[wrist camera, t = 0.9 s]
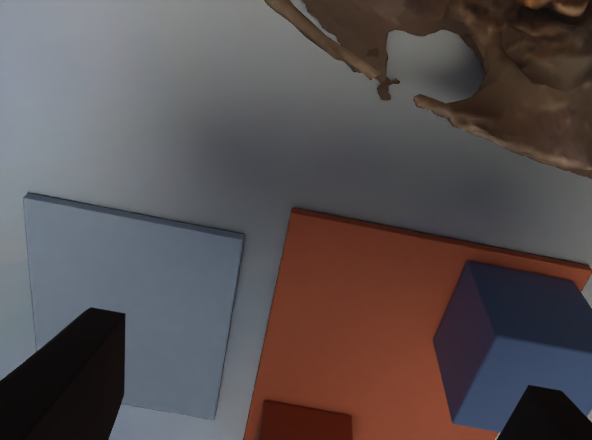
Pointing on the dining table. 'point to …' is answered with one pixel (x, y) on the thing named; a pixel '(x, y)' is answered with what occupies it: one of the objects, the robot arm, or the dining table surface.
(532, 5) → the food dish
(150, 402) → the blue mat
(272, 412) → the rust block
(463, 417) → the blue block
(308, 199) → the dining table surface
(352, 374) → the rust mat
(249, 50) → the dining table surface
